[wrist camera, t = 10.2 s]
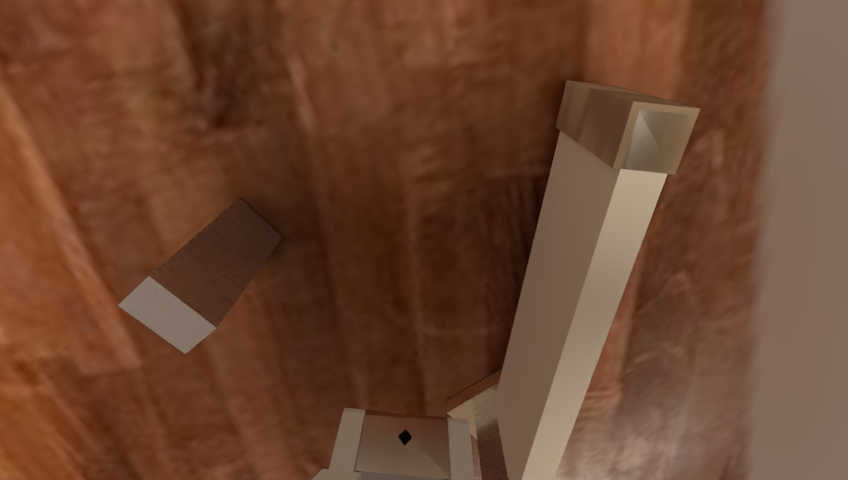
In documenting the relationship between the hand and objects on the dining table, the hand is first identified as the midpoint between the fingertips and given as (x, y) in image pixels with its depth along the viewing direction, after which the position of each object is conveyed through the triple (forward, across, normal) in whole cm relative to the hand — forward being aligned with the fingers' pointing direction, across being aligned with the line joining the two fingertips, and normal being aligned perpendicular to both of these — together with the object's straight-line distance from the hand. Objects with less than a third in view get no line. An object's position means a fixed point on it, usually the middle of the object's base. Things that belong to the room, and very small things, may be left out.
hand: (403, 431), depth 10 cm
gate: (+12, +7, -2) cm, 14 cm away
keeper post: (+14, -9, -2) cm, 16 cm away
